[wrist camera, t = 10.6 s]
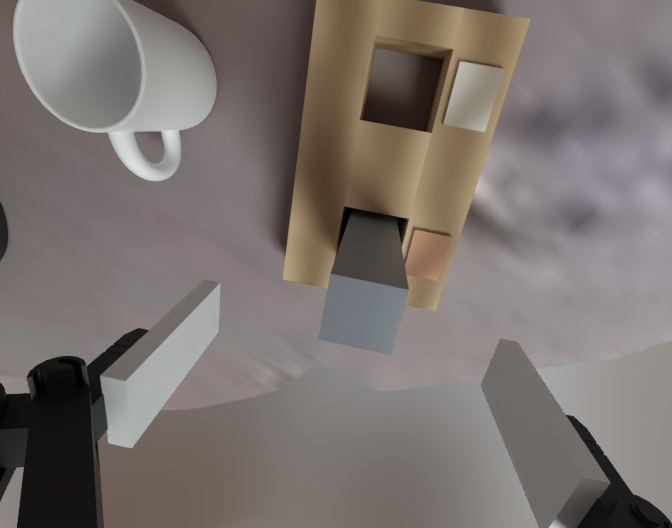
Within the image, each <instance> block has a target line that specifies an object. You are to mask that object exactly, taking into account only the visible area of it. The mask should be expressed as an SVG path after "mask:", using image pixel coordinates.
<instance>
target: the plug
mask: <svg viewBox="0 0 672 528" xmlns="http://www.w3.org/2000/svg"><path fill="white" fill-rule="evenodd" d="M408 292H409V287H408V281H407V275H406V270H405V264H404V258H403V252H402V247H401V241H400V235H399V230H398V224H397V218H396V216H391V215H386V214H381V213H376V212H371V211H366V210H361V209H356V208H353V209H352V212H351V215H350V218H349V221H348V224H347V226H346V229H345V232H344V235H343V238H342V241H341V244H340V247H339V250H338V253H337V256H336V258H335V261H334V264H333V267H332V270H331V273H330V278H329V284H328V289H327V295H326V300H325V306H324V312H323V317H322V323H321V328H320V334H319V339H320V340H325V341H329V342H334V343H339V344H343V345H348V346H353V347H357V348H362V349H366V350H371V351H376V352H380V353H385V354H390V355H391V352H392V348H393V345H394V341H395V338H396V334H397V331H398V327H399V323H400V320H401V316H402V313H403V309H404V306H405V302H406V299H407V295H408Z"/></svg>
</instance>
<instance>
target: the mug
mask: <svg viewBox="0 0 672 528" xmlns="http://www.w3.org/2000/svg"><path fill="white" fill-rule="evenodd" d="M13 42H14V48H15V53H16V57H17V60H18V63H19V66H20V68H21V71H22V73H23V75H24V77H25V79H26V82H27V83H28V85H29V86H30V88H31V90H32V91H33V93H34V94H35V95H36V97H37V98H38V99H39V101H40V102H41V103H42V104H43V105H44V106H45V107H46V108H47V109H48V110H49V111H50V112H51V113H52V114H54V115H55V116H56V117H58V118H59V119H60V120H62V121H64V122H65V123H67V124H69V125H71V126H73V127H75V128H78V129H81V130H84V131H89V132H107V133H108V136H109V138H110V141H111V143H112V146H113V148H114V150H115V151H116V153H117V155H118V156H119V158H120V159H121V161H122V162H123V163H124V165H125V166H126V167H127V168H128V169H129V170H131V171H132V172H133V173H134V174H136V175H138V176H139V177H141V178H143V179H146V180H151V181H161V180H164V179H167V178H169V177H170V176H172V175H173V174H174V172H175V171H176V170H177V168H178V166H179V163H180V159H181V139H180V132H179V130H185V129H188V128H191V127H194V126H196V125H198V124H199V123H201V122H202V121H203V120H204V119H205V118H206V117H207V116H208V114H209V113H210V111H211V109H212V107H213V105H214V102H215V98H216V92H217V78H216V72H215V68H214V65H213V62H212V59H211V57H210V55H209V53H208V51H207V50H206V48H205V47H204V45H203V44H202V43H201V42H200V40H199V39H198V38H197V37H196V36H195V35H194V34H192V33H191V32H190V31H189V30H187V29H186V28H184V27H183V26H181V25H180V24H178V23H176V22H174V21H172V20H170V19H168V18H166V17H164V16H162V15H160V14H159V13H157V12H155V11H153V10H151V9H149V8H147V7H145V6H143V5H141V4H139V3H137V2H135V1H133V0H18V2H17V5H16V8H15V12H14V18H13ZM144 131H161V134H162V138H163V144H164V155H163V158H162V160H161V162H160V163H158V164H153V163H150V162H149V161H148V160H147V159H146V158H145V157H144V156H143V155H142V153H141V152H140V150H139V148H138V145H137V143H136V139H135V135H134V132H144Z"/></svg>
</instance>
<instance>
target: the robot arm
mask: <svg viewBox="0 0 672 528" xmlns="http://www.w3.org/2000/svg"><path fill="white" fill-rule="evenodd" d="M7 241H8V231H7V224H6V219H5V216H4V213H3V210H2V207H1V205H0V260H1V259H2V257H3V255H4V253H5V251H6V247H7ZM219 306H220V283H219V282H214V281H209V280H204V281H202V282H201V283H200V284H199V285H198V286H197V287H196V288H195V289H194V290H193V291H192V292H190V293H189V294H188V295H187V296H186V297H185V298H184V299H183V300H182V301H181V302H180V303H179V304H177V305H176V306H175V307H174V308H173V309H172V310H171V311H170V312H169V313H168V314H167V315H165V316H164V317H163V318H162V319H161V320H160V321H159V322H158V323H157V324H156V325H155V326H154V327H152V328H151V329H150V330H145V329H140V328H138V329H136V330H133V331H131V332H129V333H127V334H125V335H123V336H122V337H121V338H120V339H119V340H117V341H116V342H115V343H114V345H112V346H110V347H109V348H108V349H107V350H106V352H103V353H102V354H101V355H100V356H99V357H97V358H96V359H95V360H94V361H93V362H91V363H90V364H89V365H88V366H86V363H85V361H84V360H83V359H81V358H79V357H74V356H62V357H56V358H53V359H49V360H46V361H44V362H42V363H40V364H38V365H37V366H36V367H34V368H33V369H32V370H31V371H30V372H29V374H28V376H27V381H28V386H29V390H30V393H28V394H27V393H24V394H6V392H5V389H4V387H3V385H2V384H1V383H0V501H1V499H2V497H3V494H4V492H5V490H6V488H7V486H8V484H9V482H10V480H11V477H12V475H13V473H14V471H15V469H16V467H24V473H23V481H22V489H21V498H20V506H19V515H18V523H17V528H104V520H103V506H102V492H101V478H100V465H99V450H98V442H97V441H98V440H99V439H100V438H101V436H102V435H103V434H104V433H105V432H106V431H107V434H108V443H110V444H115V445H120V446H124V447H129V448H132V447H133V446H134V444H135V443H136V442H137V440H138V439H139V438H140V436H141V435H142V434H143V432H144V431H145V430H146V428H147V427H148V426H149V424H150V423H151V422H152V420H153V419H154V418H155V416H156V415H157V413H158V412H159V411H160V410H161V408H162V407H163V406H164V404H165V403H166V402H167V400H168V399H169V398H170V396H171V395H172V393H173V392H174V391H175V389H176V388H177V387H178V385H179V384H180V383H181V381H182V380H183V379H184V377H185V376H186V375H187V373H188V372H189V371H190V369H191V368H192V367H193V365H194V364H195V363H196V361H197V360H198V359H199V357H200V356H201V355H202V353H203V352H204V351H205V349H206V348H207V347H208V345H209V344H210V343H211V341H212V340H213V339H214V337H215V336H216V335H217V333H218V331H219ZM481 387H482V390H483V392H484V395H485V397H486V400H487V402H488V404H489V407H490V409H491V412H492V414H493V416H494V419H495V421H496V424H497V426H498V429H499V431H500V433H501V436H502V439H503V441H504V443H505V446H506V448H507V451H508V453H509V456H510V458H511V460H512V463H513V465H514V468H515V470H516V472H517V475H518V477H519V480H520V482H521V485H522V487H523V490H524V492H525V494H526V496H527V499H528V502H529V504H530V507H531V509H532V511H533V514H534V516H535V518H536V521H537V524H538V526H539V528H672V523H671V522H670V520H669V519H668V518H667V517H666V516H665V515H664V514H663V513H662V512H661V511H660V510H659V509H658V508H656V507H655V506H654V505H652V504H651V503H650V502H648V501H647V500H645V499H643V498H641V497H639V496H637V495H633V494H632V492H631V491H630V489H629V488H628V487H627V485H626V484H625V482H624V481H623V479H622V478H621V476H620V475H619V474H618V472H617V471H616V469H615V468H614V467H613V465H612V464H611V462H610V461H609V459H608V458H607V456H606V455H604V452H603V451H602V449H601V448H600V447H599V445H598V444H596V441H595V439H594V438H593V437H592V435H591V434H590V432H589V431H588V430H587V428H586V427H584V426H583V425H582V424H581V423H580V422H579V421H578V420H577V419H576V418H575V417H574V416H569V415H565V413H564V412H563V410H562V409H561V407H560V406H559V404H558V403H557V401H556V400H555V399H554V397H553V395H552V394H551V392H550V391H549V389H548V388H547V386H546V385H545V383H544V382H543V380H542V379H541V377H540V375H539V374H538V372H537V371H536V369H535V368H534V366H533V365H532V363H531V362H530V360H529V359H528V357H527V356H526V354H525V353H524V351H523V350H522V348H521V347H520V345H519V344H518V342H514V341H509V340H504V339H500V341H499V344H498V346H497V348H496V351H495V353H494V355H493V358H492V360H491V362H490V365H489V367H488V369H487V372H486V374H485V376H484V379H483V381H482V383H481Z"/></svg>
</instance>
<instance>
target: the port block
mask: <svg viewBox="0 0 672 528" xmlns="http://www.w3.org/2000/svg"><path fill="white" fill-rule="evenodd" d="M530 20H531V19H527V18H521V17H515V16H509V15H503V14H497V13H491V12H485V11H479V10H473V9H467V8H461V7H455V6H449V5H443V4H437V3H431V2H425V1H419V0H316V8H315V16H314V24H313V33H312V41H311V49H310V58H309V66H308V74H307V83H306V91H305V99H304V107H303V116H302V124H301V132H300V141H299V149H298V157H297V165H296V174H295V182H294V190H293V199H292V207H291V215H290V224H289V232H288V240H287V248H286V257H285V265H284V273H283V280H288V281H292V282H297V283H302V284H307V285H312V286H317V287H321V288H326V289H328V284H329V278H330V273H331V270H332V267H333V264H334V261H335V258H336V256H337V253H338V250H339V244H340V239H341V233H342V228H343V223H344V217H345V212H346V207H351V208H356V209H361V210H366V211H371V212H376V213H381V214H386V215H391V216H396V217H402V218H403V222H402V226H401V230H400V233H399V235H400V241H401V247H402V252H403V258H404V264H405V270H406V275H407V281H408V287H409V292H408V295H407V299H406V302H405V305H408V306H413V307H418V308H422V309H427V310H432V311H436V308H437V305H438V302H439V299H440V296H441V293H442V290H443V287H444V284H445V280H446V277H447V274H448V271H449V268H450V265H451V262H452V259H453V256H454V253H455V250H456V247H457V244H458V241H459V238H460V234H461V231H462V228H463V225H464V222H465V219H466V216H467V213H468V210H469V207H470V204H471V201H472V198H473V195H474V192H475V188H476V185H477V182H478V179H479V176H480V173H481V170H482V167H483V164H484V161H485V158H486V155H487V152H488V149H489V146H490V142H491V139H492V136H493V133H494V130H495V127H496V124H497V121H498V118H499V115H500V112H501V109H502V106H503V103H504V100H505V96H506V93H507V90H508V87H509V84H510V81H511V78H512V75H513V72H514V69H515V66H516V63H517V60H518V57H519V54H520V51H521V47H522V44H523V41H524V38H525V35H526V32H527V29H528V26H529V23H530ZM376 48H380V49H386V50H392V51H398V52H403V53H409V54H415V55H421V56H426V57H432V58H438V59H444V60H443V64H442V67H441V71H440V75H439V79H438V83H437V87H436V91H435V95H434V99H433V103H432V107H431V111H430V115H429V119H428V123H427V127H426V131H425V132H423V131H418V130H412V129H407V128H401V127H396V126H390V125H385V124H380V123H374V122H369V121H363V120H362V119H363V114H364V108H365V103H366V97H367V92H368V87H369V81H370V76H371V70H372V65H373V59H374V54H375V49H376Z"/></svg>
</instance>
